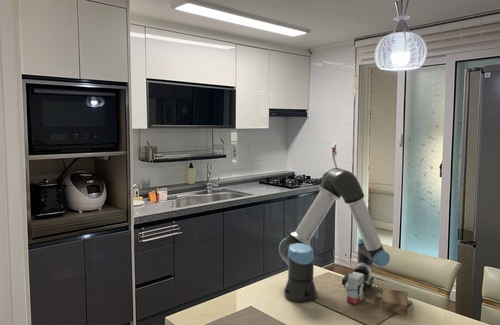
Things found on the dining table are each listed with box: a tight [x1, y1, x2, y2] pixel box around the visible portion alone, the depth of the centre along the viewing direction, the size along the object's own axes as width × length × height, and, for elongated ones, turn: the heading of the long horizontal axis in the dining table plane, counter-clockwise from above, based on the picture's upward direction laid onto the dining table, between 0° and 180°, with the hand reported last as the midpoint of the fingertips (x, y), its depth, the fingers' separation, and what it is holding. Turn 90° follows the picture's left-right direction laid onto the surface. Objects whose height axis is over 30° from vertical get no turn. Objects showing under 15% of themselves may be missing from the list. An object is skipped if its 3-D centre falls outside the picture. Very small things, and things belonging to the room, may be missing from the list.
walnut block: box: [381, 288, 409, 317], centre depth 169 cm, size 10×14×5 cm
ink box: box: [346, 272, 364, 305], centre depth 175 cm, size 9×5×12 cm, turn 144°
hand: (353, 290), depth 170 cm, fingers closed on ink box, 6 cm apart
